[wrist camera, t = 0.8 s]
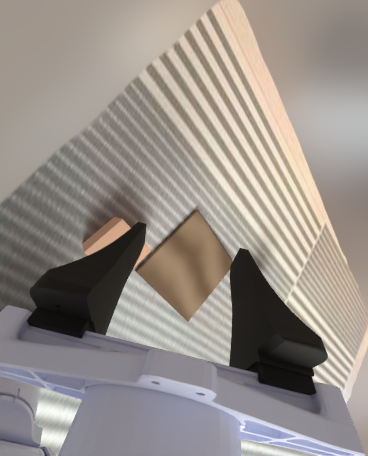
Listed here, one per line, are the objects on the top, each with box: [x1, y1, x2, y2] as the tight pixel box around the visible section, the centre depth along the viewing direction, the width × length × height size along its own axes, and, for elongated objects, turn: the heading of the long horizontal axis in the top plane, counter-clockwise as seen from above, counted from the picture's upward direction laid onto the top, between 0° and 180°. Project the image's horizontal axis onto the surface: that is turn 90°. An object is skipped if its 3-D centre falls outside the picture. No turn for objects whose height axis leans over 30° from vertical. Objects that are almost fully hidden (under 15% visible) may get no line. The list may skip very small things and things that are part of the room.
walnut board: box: [135, 211, 232, 321], centre depth 31 cm, size 13×13×1 cm
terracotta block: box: [82, 217, 151, 267], centre depth 23 cm, size 5×5×5 cm
